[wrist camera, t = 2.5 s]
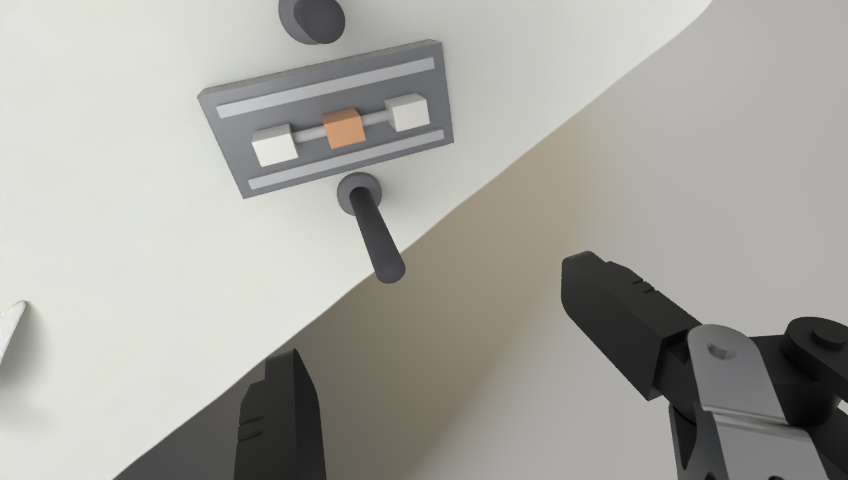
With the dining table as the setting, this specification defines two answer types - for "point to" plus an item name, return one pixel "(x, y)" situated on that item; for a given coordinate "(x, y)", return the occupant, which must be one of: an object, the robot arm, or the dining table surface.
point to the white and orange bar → (339, 128)
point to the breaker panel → (322, 94)
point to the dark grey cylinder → (312, 20)
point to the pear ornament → (9, 325)
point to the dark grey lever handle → (371, 224)
